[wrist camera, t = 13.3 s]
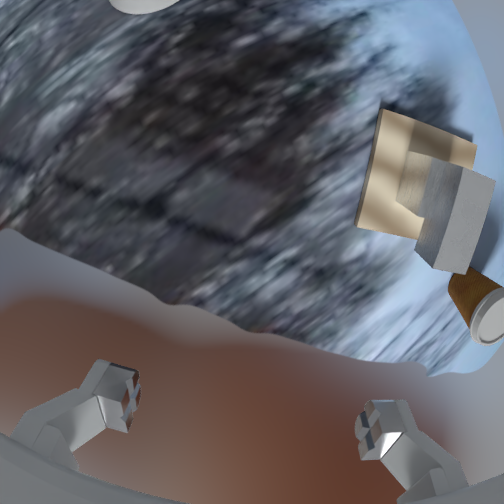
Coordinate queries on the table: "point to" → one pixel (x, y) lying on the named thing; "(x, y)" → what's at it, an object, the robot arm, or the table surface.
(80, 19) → the table surface
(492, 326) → the disposable coffee cup
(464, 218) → the grey stepped block
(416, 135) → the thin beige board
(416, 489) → the robot arm
